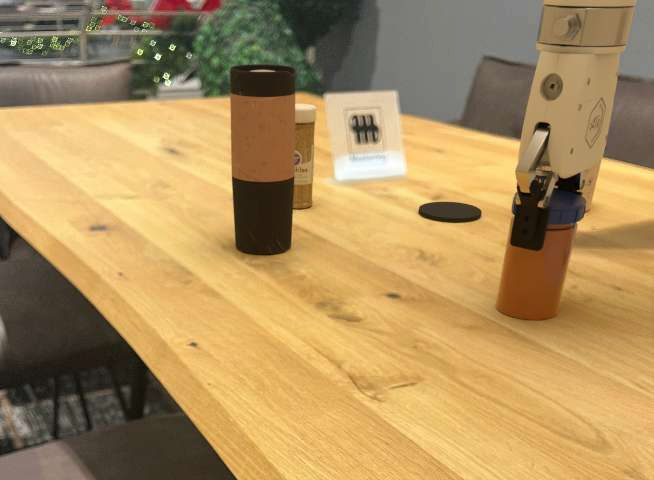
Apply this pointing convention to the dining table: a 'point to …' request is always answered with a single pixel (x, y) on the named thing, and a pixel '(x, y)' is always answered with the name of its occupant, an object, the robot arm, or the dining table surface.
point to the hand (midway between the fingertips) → (542, 237)
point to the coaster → (450, 211)
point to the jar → (536, 275)
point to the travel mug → (263, 156)
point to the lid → (562, 207)
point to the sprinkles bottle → (304, 154)
